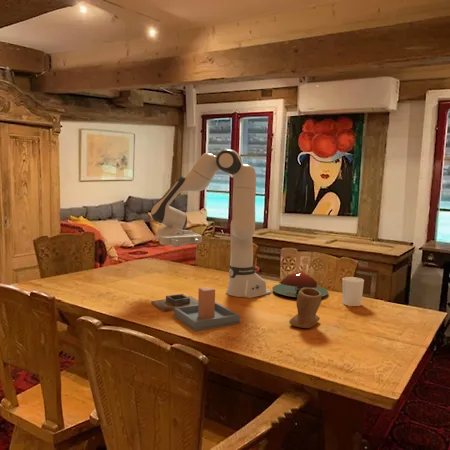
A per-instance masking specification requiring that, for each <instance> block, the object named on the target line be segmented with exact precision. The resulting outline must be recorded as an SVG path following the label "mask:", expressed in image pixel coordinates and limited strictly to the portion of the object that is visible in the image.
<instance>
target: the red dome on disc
mask: <svg viewBox="0 0 450 450" xmlns="http://www.w3.org/2000/svg"><path fill="white" fill-rule="evenodd" d="M278 283H279V284H276V285H273V287H272V291H273V292H274V293H276V294H279V295H283V296H287V297H293V298H297V296H298V292H299V291H300V290H301V289H302V288H313V289H316V290H318V291H319V292H320V293H321V295H322V297H325V296H327V295H328V294H329V291H328V290H327V289H326V288H324V287H322V286H318V282H317V281H316V280H315V279H314V278H313V277H312V276H309V275H307V274H306V273H305V271H303V270H300V271H298V272H294V273H291V274H287V275H286V276H285V277H284V279H282V280H281V281H279V282H278Z"/></svg>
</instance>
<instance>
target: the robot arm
mask: <svg viewBox="0 0 450 450" xmlns="http://www.w3.org/2000/svg"><path fill="white" fill-rule="evenodd" d="M219 171H222V172H224V173H227V174H230V175H232V178H233V184H232V185H233V187H232V189H233V190H232V216H231V217H232V219H231V222H230V264H229V268H228V269H229V270H228V276H229V277H228V278H229V280H228V285H227V288H226V291H225V293H226V294H227V295H229V296H231V297H239V298H247V299H252V298H255V297H256V298H257V297H260V296H265V295H269V294H271V290H270V289H268V287H267V284H266V281H265V279H264V278H262V277H261V276H260V275H259V274H257V273H256V272H259V271H260V267H259V266H257V265H256V266H255V265H254V264H253V262H254V261H253V260H254V259H253V258H254V257H253V256H254V248H253V247H254V246H253V236H254V234H255V231H256V197H257V196H256V194H257V193H256V191H257V175H256V170H255V167H253V166H252V165H251V164H247V163H246V164H245V163H243V161H242V157H241V155H240V154H239V153H238V152H237V151H236V150H234V149H231V148H229V149H228V148H226V149H222V150H221V151H220V152H218V153H217V154H216V155H214V154H213V153H210V152H205V153H203V154H202V155H200V157H199V158H198V159H197V160H196V162H195V163H194V165H193V166H192V167H191V170H190V171H189V172H188V173H187V174H186V175H183V176H180V177H178V178H177V179H176V181H174V182H173V184H172V185H171V186H170V187H169V188H168V190H167V191H166V192H165V194H163V195H162V197H161V198H159V200H158V201H157V202H156V203H155V204H154V205H153V207H151V211H150V216H151V219H152V220H153V222H155V223H159V224H162V225H161V226H159V227H158V228H157V230H156V235H157V238H156V240H157V241H158V242H159V244H160V245H163V246H171V247H174V248H179V247H181V246H184V245H185V246H186V245H189V244H190V245H191V244H200V243H202V242H203V239H202V238H203V236H202V235H201V234H200V233H197V232H194V231H193V230H191V229H190V230H189V229H186V228H187V225H188V217H187V214H186V212H184V211H182V210H180V209H178V208H175V207H174V206H171V205H170V204H171V203H172V202H173V201H174V200H175V198H177V196H179V194H180V193H183V192H200V191H201V192H202V191H204V190H206V189H207V188H208V186H209V185H210V183H211V182H212V180H213V178H214V177H215V175H216V174H217V173H218V172H219Z"/></svg>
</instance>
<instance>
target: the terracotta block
mask: <svg viewBox="0 0 450 450" xmlns="http://www.w3.org/2000/svg"><path fill="white" fill-rule="evenodd" d="M197 300H198V316H199V317H200V318H202V319H203V320H204V319H211V318H215V302H216V289H215V288H213V287H211V286H204V287H198V299H197Z"/></svg>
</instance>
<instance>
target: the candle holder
mask: <svg viewBox="0 0 450 450" xmlns="http://www.w3.org/2000/svg"><path fill="white" fill-rule="evenodd" d="M364 284H365V280H364V278H361V277H355V276H345V277H342V304H343V305H344V304H345V305H344V306H346V305H349V306H348V307H351V306H358V307H361V306H362V299H363V293H364V292H363V291H364Z"/></svg>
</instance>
